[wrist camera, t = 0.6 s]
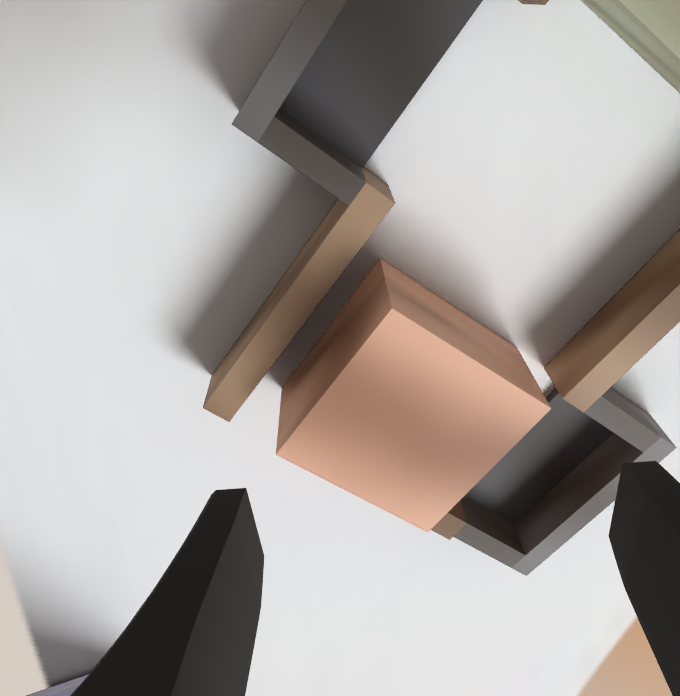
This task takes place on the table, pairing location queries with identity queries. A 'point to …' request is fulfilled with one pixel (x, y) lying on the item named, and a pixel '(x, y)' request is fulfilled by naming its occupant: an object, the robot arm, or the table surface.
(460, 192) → the table surface
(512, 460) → the trap box
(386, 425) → the block
